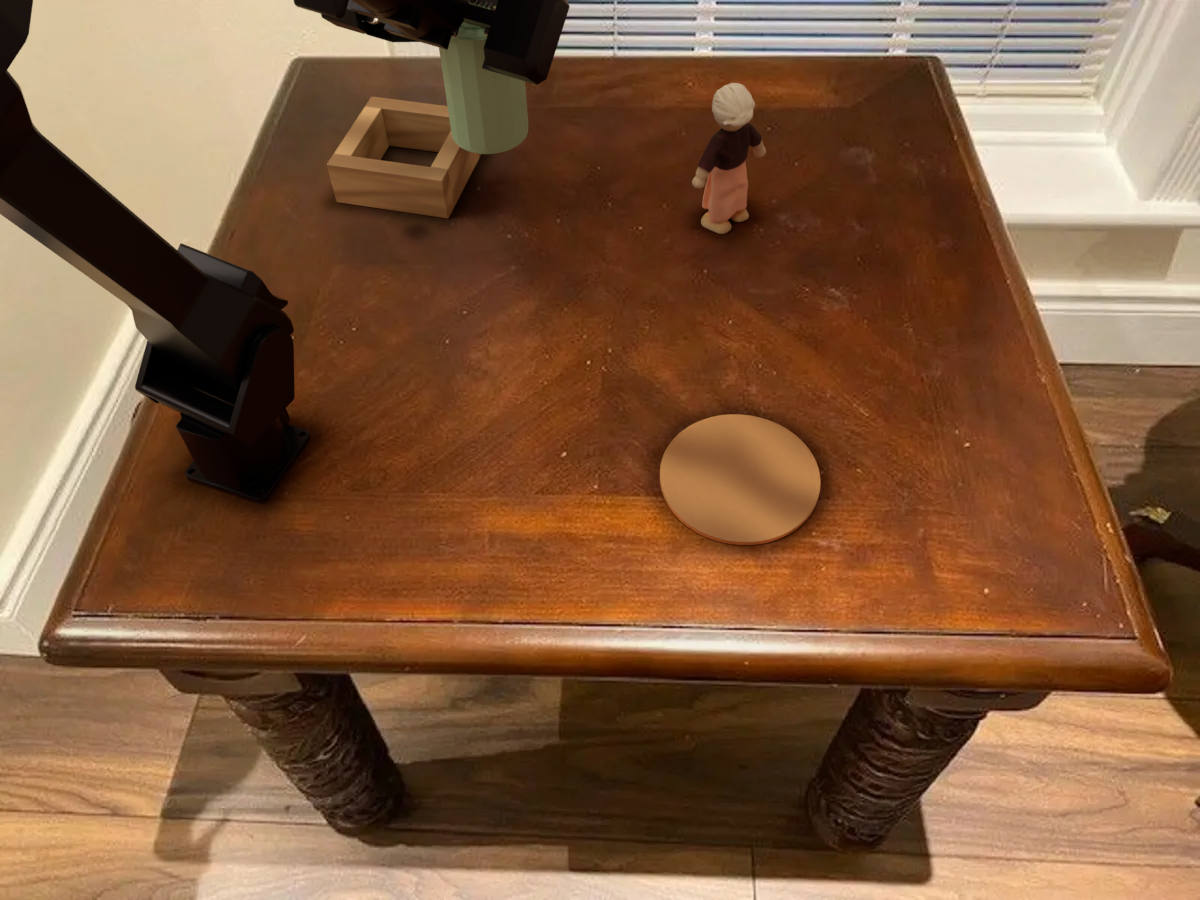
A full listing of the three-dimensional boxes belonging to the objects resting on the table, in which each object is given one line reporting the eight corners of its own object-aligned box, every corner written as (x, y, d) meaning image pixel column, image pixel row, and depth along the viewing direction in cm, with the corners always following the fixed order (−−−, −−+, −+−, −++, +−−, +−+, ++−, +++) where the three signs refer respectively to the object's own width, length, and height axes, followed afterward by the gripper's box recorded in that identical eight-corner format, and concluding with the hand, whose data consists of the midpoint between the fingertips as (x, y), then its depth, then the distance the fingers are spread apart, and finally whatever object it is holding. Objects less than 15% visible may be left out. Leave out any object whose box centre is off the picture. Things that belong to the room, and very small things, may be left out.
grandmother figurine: (728, 189, 91) (741, 57, 81) (765, 206, 89) (782, 74, 79) (676, 234, 87) (682, 102, 77) (713, 253, 86) (725, 120, 76)
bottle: (496, 163, 83) (477, -5, 73) (435, 137, 86) (409, -29, 75) (543, 125, 87) (532, -41, 76) (484, 101, 89) (465, -64, 78)
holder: (448, 218, 89) (442, 180, 86) (336, 202, 91) (326, 164, 88) (485, 147, 95) (480, 109, 92) (379, 133, 97) (371, 96, 94)
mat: (798, 565, 67) (799, 562, 67) (637, 517, 69) (637, 514, 69) (835, 441, 73) (836, 437, 73) (687, 401, 76) (687, 397, 75)
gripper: (548, -134, 63) (630, -33, 77) (304, -187, 68) (423, -84, 83) (491, 49, 64) (582, 114, 79) (258, -17, 70) (383, 54, 85)
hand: (491, 44), depth 81 cm, fingers closed on bottle, 6 cm apart
